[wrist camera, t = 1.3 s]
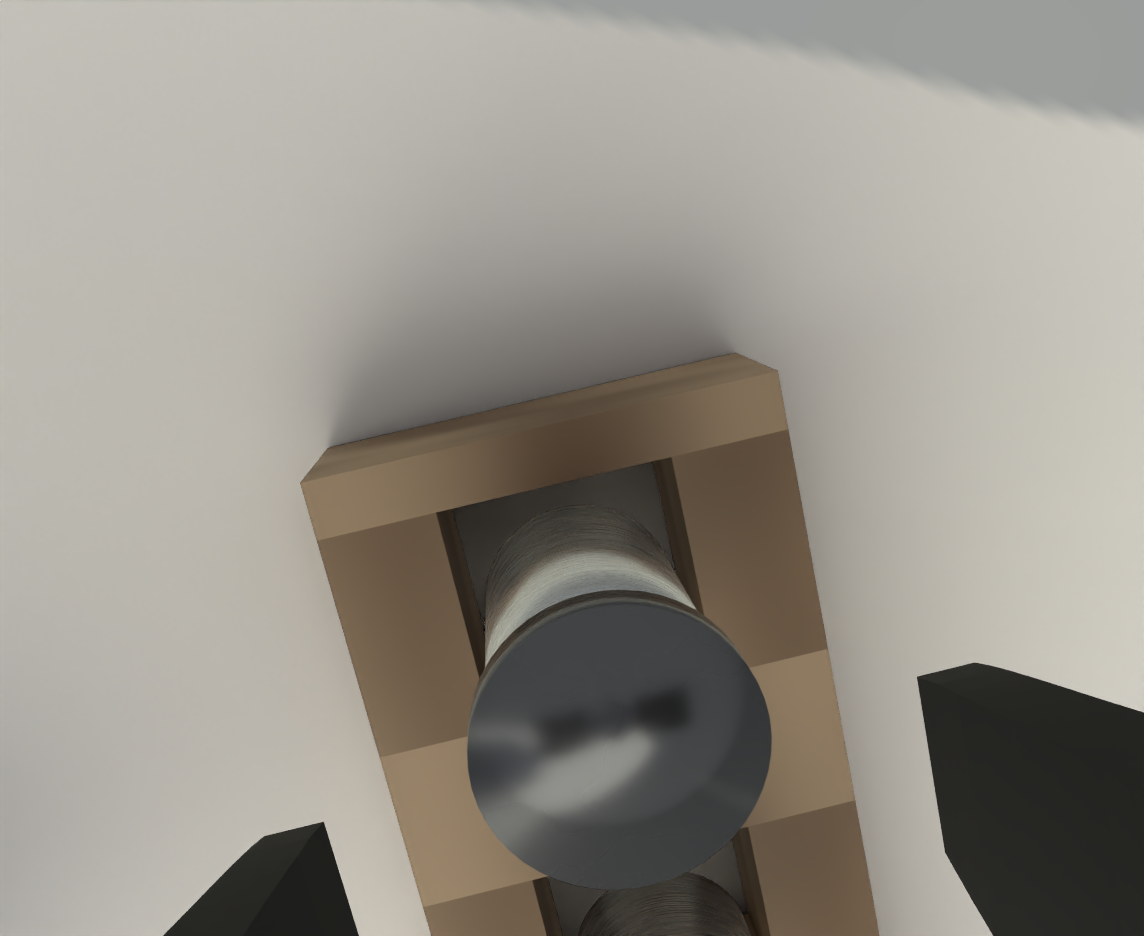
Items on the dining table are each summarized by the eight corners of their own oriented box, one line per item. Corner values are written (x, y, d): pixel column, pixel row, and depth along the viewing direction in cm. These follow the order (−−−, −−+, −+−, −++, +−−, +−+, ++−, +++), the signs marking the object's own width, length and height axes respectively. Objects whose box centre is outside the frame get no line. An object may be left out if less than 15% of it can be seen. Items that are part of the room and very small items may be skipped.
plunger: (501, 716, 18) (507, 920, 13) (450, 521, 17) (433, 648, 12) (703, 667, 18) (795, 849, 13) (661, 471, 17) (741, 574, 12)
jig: (559, 1272, 24) (569, 1412, 21) (328, 447, 20) (299, 482, 17) (892, 1186, 25) (947, 1313, 22) (735, 352, 20) (777, 371, 17)
